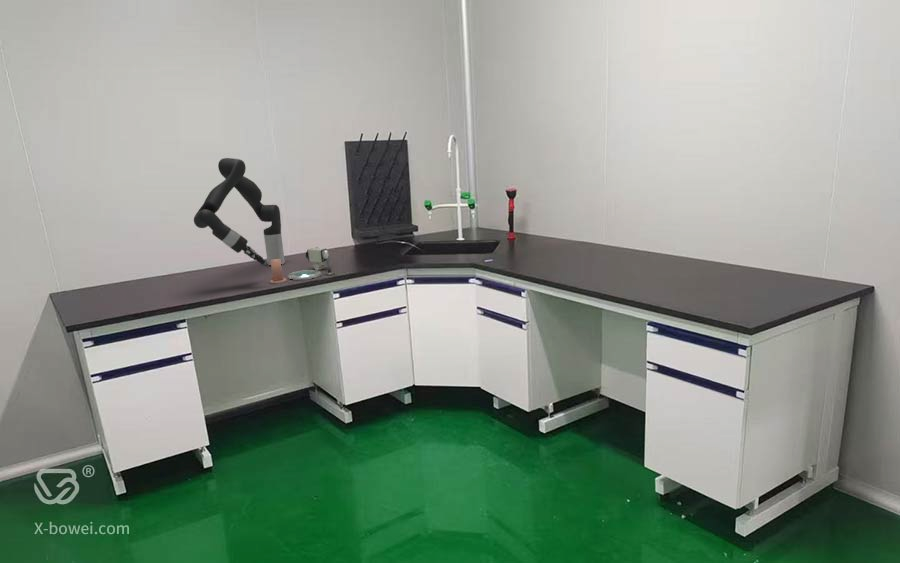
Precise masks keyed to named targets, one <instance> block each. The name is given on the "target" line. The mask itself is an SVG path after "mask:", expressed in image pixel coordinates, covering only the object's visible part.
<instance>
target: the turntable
mask: <svg viewBox="0 0 900 563" xmlns="http://www.w3.org/2000/svg"><path fill="white" fill-rule="evenodd" d="M320 275H322V273H321V270H314V269H304V270H297V271H293V272H290V273H288V274H287V279H288V278H289V279H288V280H290V279H293V280H292V281H308V279H309V280H313V279H312V278H314V279H316V277H317V278H319V277H321V276H320ZM318 276H319V277H318Z"/></svg>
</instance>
